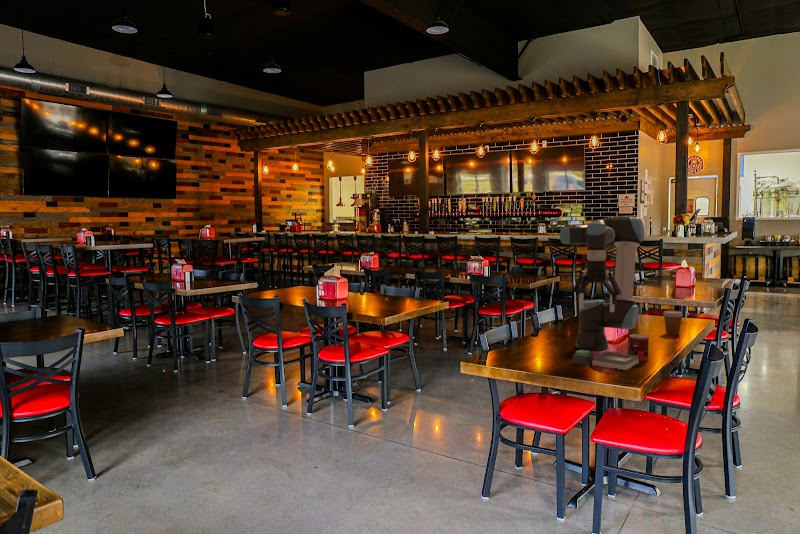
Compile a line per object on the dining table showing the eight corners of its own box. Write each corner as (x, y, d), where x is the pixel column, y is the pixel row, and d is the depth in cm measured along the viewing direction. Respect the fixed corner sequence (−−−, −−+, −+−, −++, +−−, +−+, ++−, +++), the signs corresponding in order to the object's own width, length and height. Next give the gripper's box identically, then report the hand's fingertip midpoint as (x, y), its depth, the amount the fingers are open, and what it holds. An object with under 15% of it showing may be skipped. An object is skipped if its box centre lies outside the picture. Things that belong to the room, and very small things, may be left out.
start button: (580, 356, 256) (580, 349, 256) (590, 357, 253) (590, 351, 253) (575, 358, 253) (575, 351, 252) (585, 360, 249) (585, 353, 249)
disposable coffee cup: (686, 334, 308) (686, 312, 308) (676, 336, 303) (676, 314, 302) (669, 331, 316) (669, 310, 315) (659, 333, 311) (659, 311, 310)
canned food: (626, 358, 259) (626, 334, 258) (644, 358, 259) (644, 333, 258) (632, 362, 252) (632, 337, 251) (651, 362, 251) (651, 337, 250)
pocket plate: (606, 358, 259) (606, 350, 259) (638, 363, 250) (638, 355, 249) (592, 364, 249) (592, 356, 248) (625, 370, 239) (625, 361, 239)
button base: (579, 359, 258) (579, 352, 258) (594, 362, 253) (594, 354, 253) (571, 362, 253) (571, 355, 252) (587, 365, 248) (587, 357, 248)
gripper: (564, 259, 246) (564, 308, 248) (622, 261, 229) (621, 314, 231) (573, 258, 251) (573, 306, 253) (629, 260, 234) (629, 311, 236)
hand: (596, 310), depth 242 cm, fingers open, 13 cm apart
